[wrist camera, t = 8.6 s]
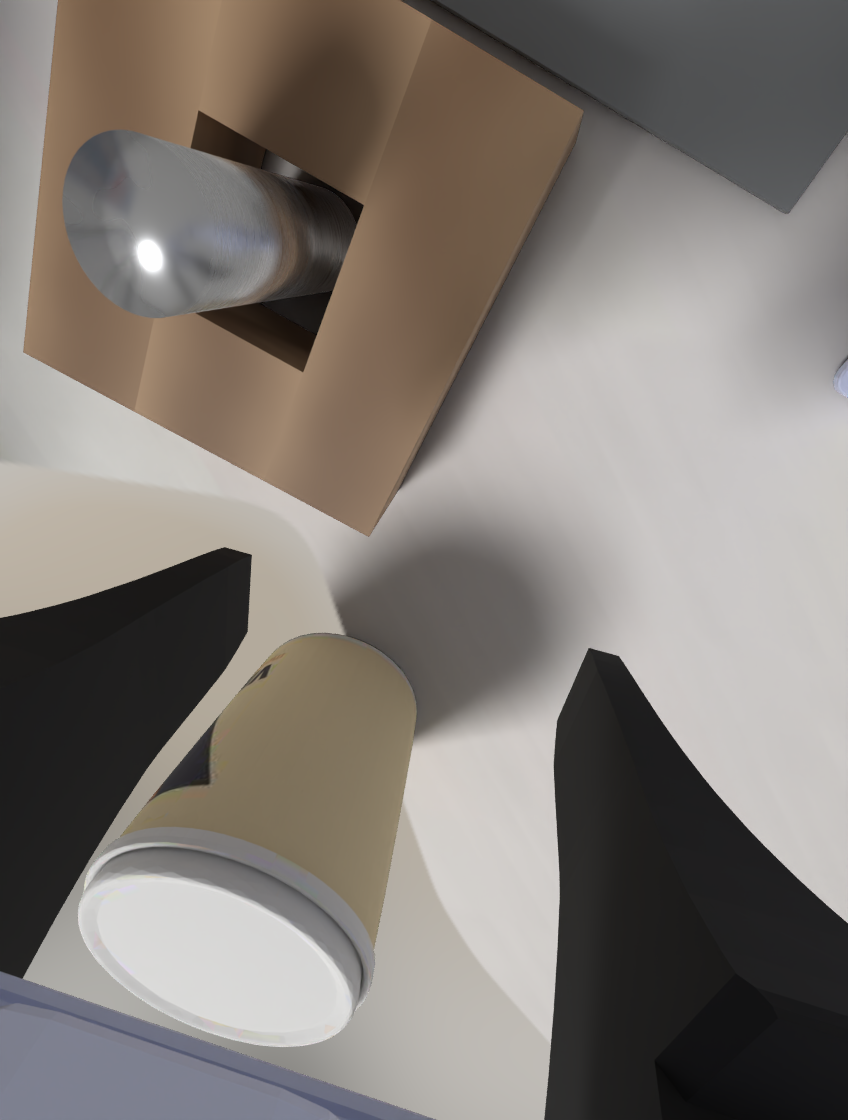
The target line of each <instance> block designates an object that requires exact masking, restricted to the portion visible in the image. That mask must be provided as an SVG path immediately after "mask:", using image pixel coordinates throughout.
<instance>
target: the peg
mask: <svg viewBox="0 0 848 1120" xmlns="http://www.w3.org/2000/svg"><path fill="white" fill-rule="evenodd" d="M62 203H63V216H64V222H65V227H66V231H67V235H68V239H69V241H70V244H71V247H72V250H73V252H74V254H75V256H76V258H77V260H78V262H79V264H80V266H81V267H82V269H83V271H84V272H85V274H86V275H87V276H88V278H89V279H90V281H91V282H92V283H93V284H94V285H95V286H96V288H97V289H98V290H99V291H100V292H101V293H102V294H103V295H104V296H105V297H107V298H108V299H109V300H110V301H112V302H113V303H114V304H116V305H117V306H119V307H121V308H122V309H124V310H126V311H128V312H130V313H133V314H136V315H139V316H142V317H148V318H164V317H171V316H177V315H184V314H190V313H196V312H203V311H209V310H215V309H222V308H228V307H234V306H241V305H247V304H253V303H260V302H266V301H272V300H279V299H285V298H291V297H298V296H304V295H310V294H317V293H323V292H328V291H331V290H334V287H335V284H336V281H337V279H338V276H339V273H340V270H341V268H342V265H343V262H344V259H345V257H346V254H347V251H348V248H349V246H350V243H351V240H352V237H353V235H354V232H355V229H356V222H355V220H354V217H353V215H352V213H351V211H350V210H349V208H348V207H347V205H346V204H345V203H344V202H343V201H342V199H341V198H339V197H338V196H337V195H336V194H334V193H333V192H331V191H330V190H328V189H325V188H323V187H319V186H316V185H312V184H309V183H306V182H302V181H299V180H296V179H292V178H289V177H286V176H282V175H279V174H276V173H272V172H269V171H265V170H262V169H259V168H255V167H252V166H249V165H245V164H242V163H239V162H235V161H232V160H228V159H225V158H222V157H218V156H215V155H212V154H208V153H205V152H202V151H198V150H195V149H191V148H188V147H185V146H181V145H178V144H175V143H171V142H168V141H165V140H161V139H158V138H155V137H151V136H148V135H144V134H141V133H138V132H134V131H129V130H110V131H106V132H102V133H100V134H97V135H95V136H93V137H92V138H90V139H89V140H88V141H86V142H85V143H84V144H83V145H82V146H81V147H80V148H79V149H78V151H77V152H76V154H75V155H74V157H73V158H72V160H71V163H70V165H69V167H68V170H67V173H66V176H65V180H64V187H63V199H62Z"/></svg>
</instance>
